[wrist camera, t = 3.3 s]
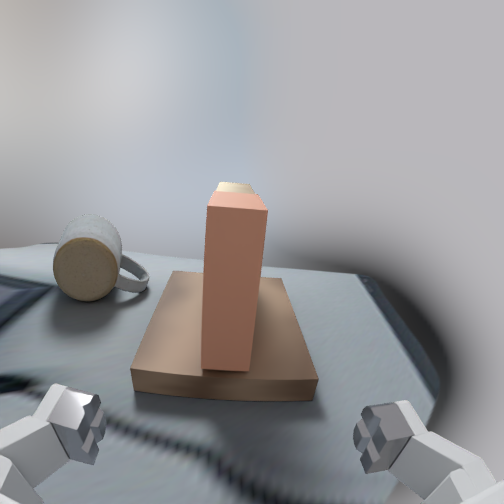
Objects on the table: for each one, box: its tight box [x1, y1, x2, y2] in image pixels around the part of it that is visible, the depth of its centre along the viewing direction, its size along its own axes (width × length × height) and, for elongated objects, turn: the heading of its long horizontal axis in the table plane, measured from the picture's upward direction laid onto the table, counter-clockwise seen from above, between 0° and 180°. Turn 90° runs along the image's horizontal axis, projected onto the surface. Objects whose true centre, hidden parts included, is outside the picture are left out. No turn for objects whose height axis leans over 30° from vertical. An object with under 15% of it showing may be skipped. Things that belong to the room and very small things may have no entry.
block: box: [201, 191, 268, 371], centre depth 20 cm, size 3×6×10 cm, turn 3°
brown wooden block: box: [130, 182, 319, 401], centre depth 25 cm, size 12×17×12 cm
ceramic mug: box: [53, 214, 149, 301], centre depth 31 cm, size 11×8×8 cm
